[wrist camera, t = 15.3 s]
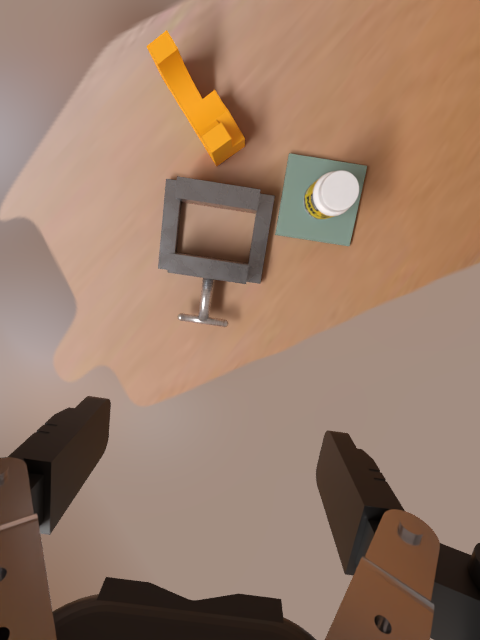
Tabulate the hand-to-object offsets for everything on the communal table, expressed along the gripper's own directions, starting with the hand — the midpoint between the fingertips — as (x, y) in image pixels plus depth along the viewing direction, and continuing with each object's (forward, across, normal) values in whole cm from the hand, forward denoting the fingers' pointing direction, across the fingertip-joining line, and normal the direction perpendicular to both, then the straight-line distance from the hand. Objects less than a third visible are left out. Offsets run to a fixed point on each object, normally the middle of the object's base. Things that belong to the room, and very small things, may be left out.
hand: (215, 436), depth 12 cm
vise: (+34, +4, -8) cm, 35 cm away
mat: (+34, -9, -14) cm, 38 cm away
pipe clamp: (+35, +7, -22) cm, 42 cm away
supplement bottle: (+34, -9, -14) cm, 38 cm away
